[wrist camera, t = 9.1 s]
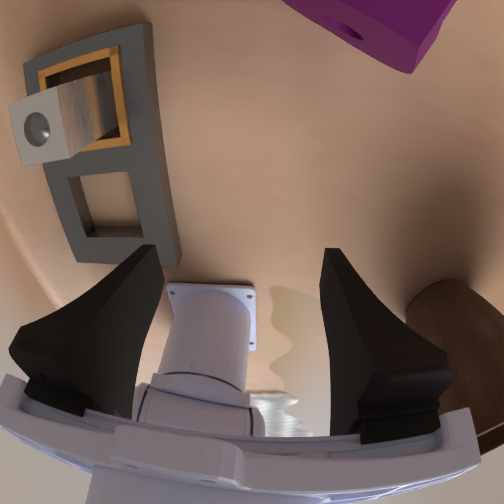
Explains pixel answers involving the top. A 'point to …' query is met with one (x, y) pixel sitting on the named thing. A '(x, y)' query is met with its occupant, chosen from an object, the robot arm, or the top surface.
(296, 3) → the mounting bracket
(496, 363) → the plant pot
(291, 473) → the robot arm
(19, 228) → the top surface
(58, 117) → the metal block with hole
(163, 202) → the grey holder tray
